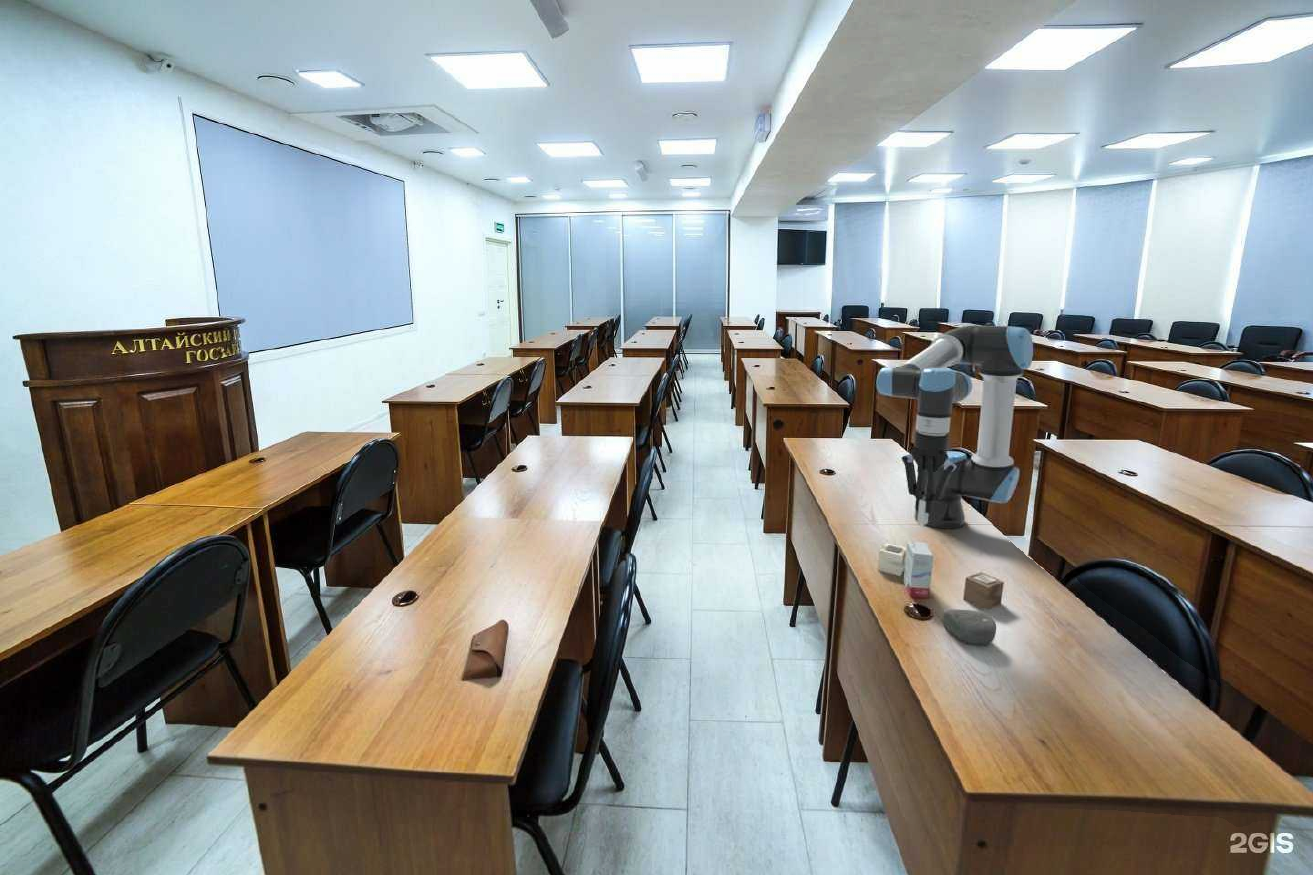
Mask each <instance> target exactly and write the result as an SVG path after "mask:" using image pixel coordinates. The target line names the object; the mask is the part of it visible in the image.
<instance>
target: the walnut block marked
mask: <svg viewBox="0 0 1313 875" xmlns="http://www.w3.org/2000/svg"><path fill="white" fill-rule="evenodd" d="M964 583H965V584H964V590H963V600H964V601H967V602H969V603H971V604H973V605H975V606H977V607H979V608H981V609H983V610H989V609H991V608H994V607H997V606H999V605H1001V604H1002V599H1003V598H1002V597H1003V591H1004V586H1005V581H1003V580H1000V579H998V578H996V577H994V576H991V575H989V574H986V573H984V572H982V571H981V572H978V573H977V572H976V573H975V574H972V575H969V576H967V577H965V581H964Z"/></svg>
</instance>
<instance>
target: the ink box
mask: <svg viewBox="0 0 1313 875" xmlns="http://www.w3.org/2000/svg"><path fill="white" fill-rule="evenodd" d="M906 548H907V550H906V561H905V570H904V571H903V573H904V574H903V583H904V585H905V589H906V590H907V593H908V595H909V597H911V598H922V599H924V598H925V599H929V598H930V593H931V585H932V584H931V582H932V581H931V580H932V571H933V562H934V555H933V553H932V551H931V550H930V547H929V546H928V544H927V542H919V541H910V540H909V541H907V542H906Z"/></svg>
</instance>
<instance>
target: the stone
mask: <svg viewBox="0 0 1313 875" xmlns="http://www.w3.org/2000/svg"><path fill="white" fill-rule="evenodd" d="M942 625H943V627H945V629H946V630H947V631H949V632H950V633H951V634H952V635H953V636H955V638H957V639H958V640H960V641H961V642H963V643H965V644H968V645H972V646H973V645H974V646H985V645H987V646H988V645H989V644H991V643H993V641H994V640H995V637H996V632H997V624H996V621H995V619H994V618H993V617H992V616H990V615H989V614H988V613H986V612H983V611H980V610H979V611H978V610H971V609H956V608H955V609H946V610H944V612H943V613H942Z"/></svg>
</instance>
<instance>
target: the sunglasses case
mask: <svg viewBox="0 0 1313 875" xmlns="http://www.w3.org/2000/svg"><path fill="white" fill-rule="evenodd" d="M474 634H475V635H474ZM474 634H473V635H472V637H473V638H472V639H471V645H470V649H469V654H468V658H467V661H466V664H465V666H464V669H463V672H462V676H461V680H462V681H470V680H471V681H472V680H482V679H493V678H494V679H495V677H496V678H499V679H500V678H501V677H502V675H503V672H504V666H505V660H506V659H505V658H506V650H507V644H508V643H507V642H508V637H509V636H508V635H509V623H508V621H507V620H505V619H500V620H498V621H497V622H496V623H495V624H493V625H491V626H489V627H487V628H485V629H483V630H481V631H479V632H477V633H474Z"/></svg>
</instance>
